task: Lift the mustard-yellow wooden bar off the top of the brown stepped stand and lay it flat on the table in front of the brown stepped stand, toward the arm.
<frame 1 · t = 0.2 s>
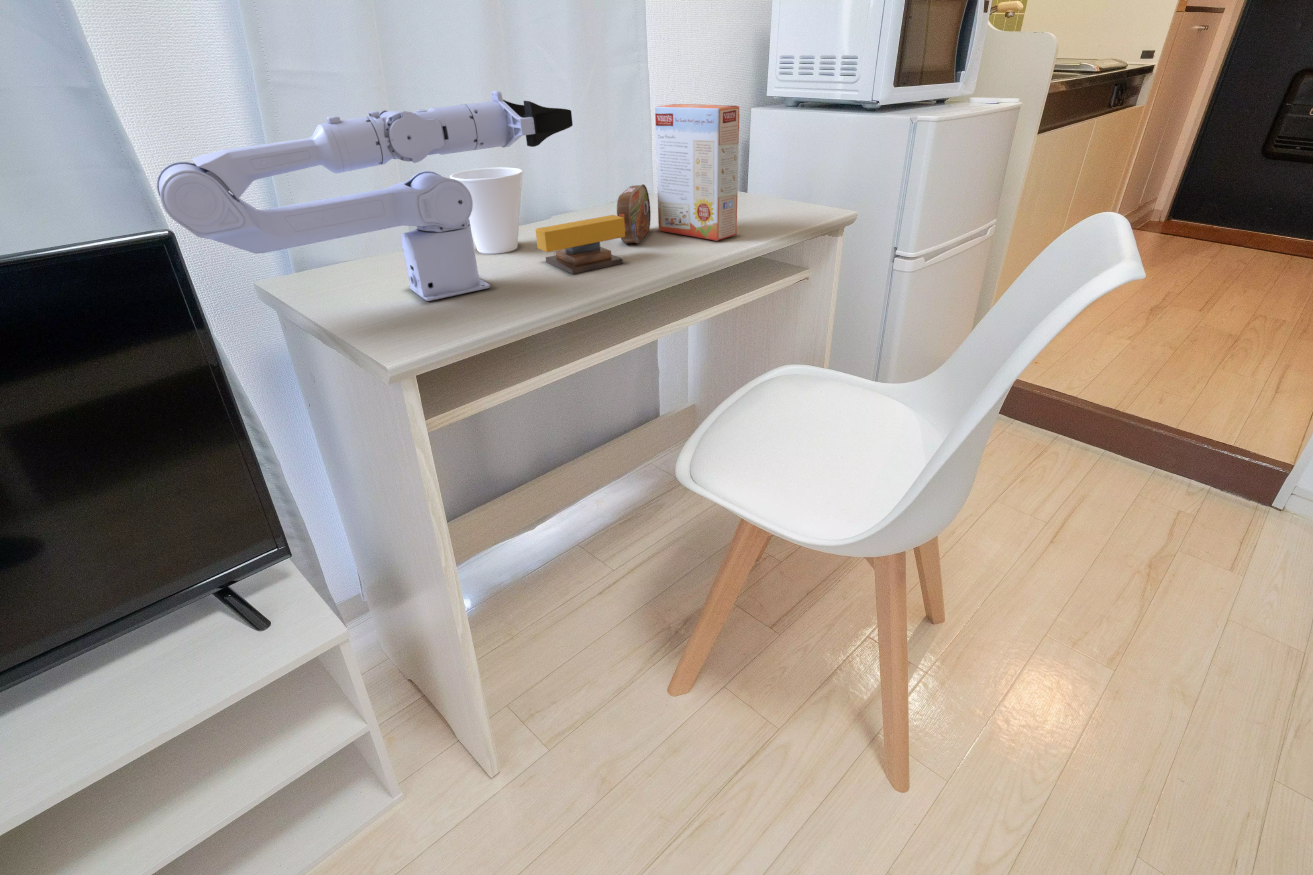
hand: (558, 116, 100), 21 cm above the table, tool horizontal, fingers open, 7 cm apart
tin: (635, 239, 124), on the table
cup: (497, 249, 120), on the table
bar: (582, 242, 109), point 3 cm above the table, touching brown stepped stand
brown stepped stand: (584, 262, 111), on the table
cracker box: (697, 234, 125), on the table
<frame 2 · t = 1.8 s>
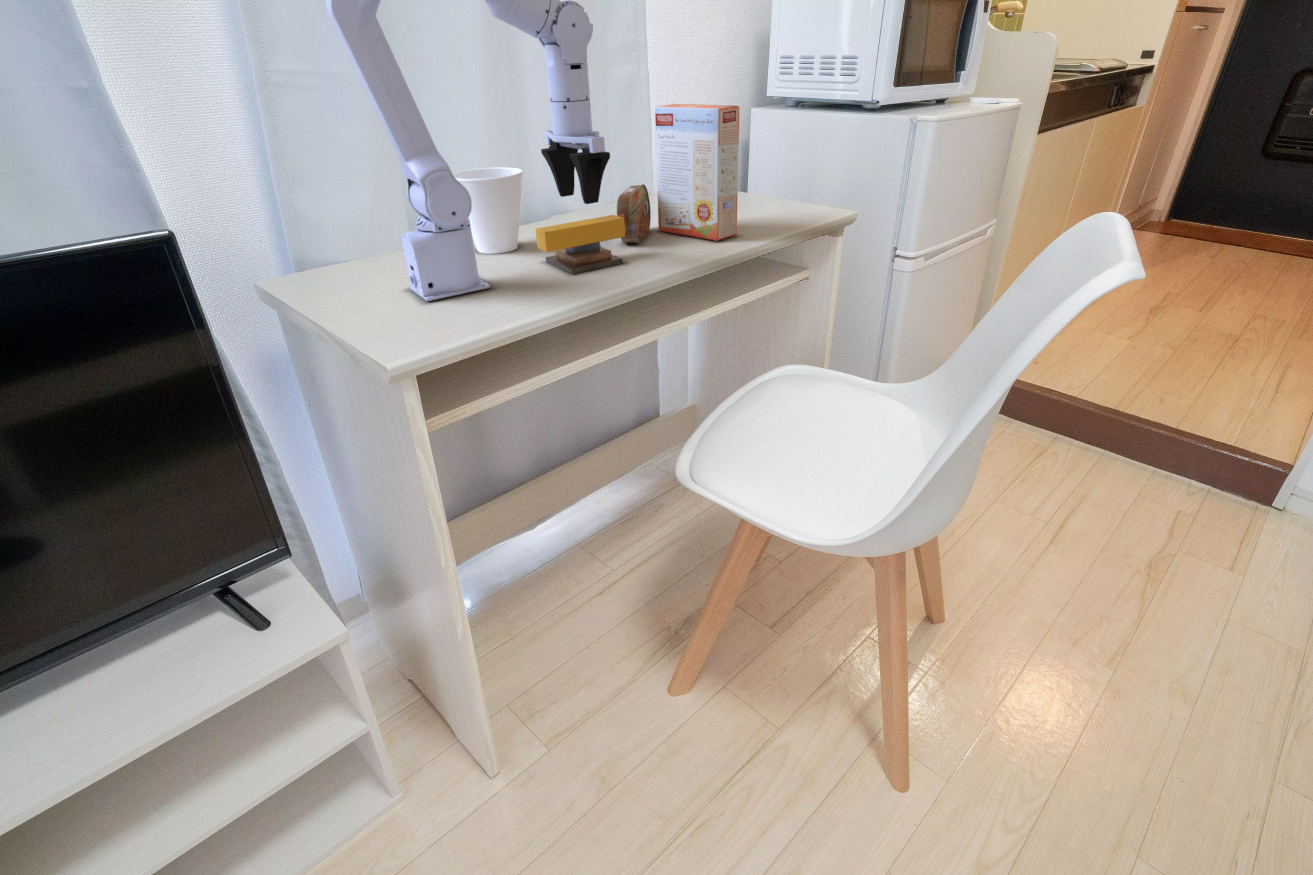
hand: (578, 199, 106), 10 cm above the table, tool pointing down, fingers open, 7 cm apart
nothing on the table moved.
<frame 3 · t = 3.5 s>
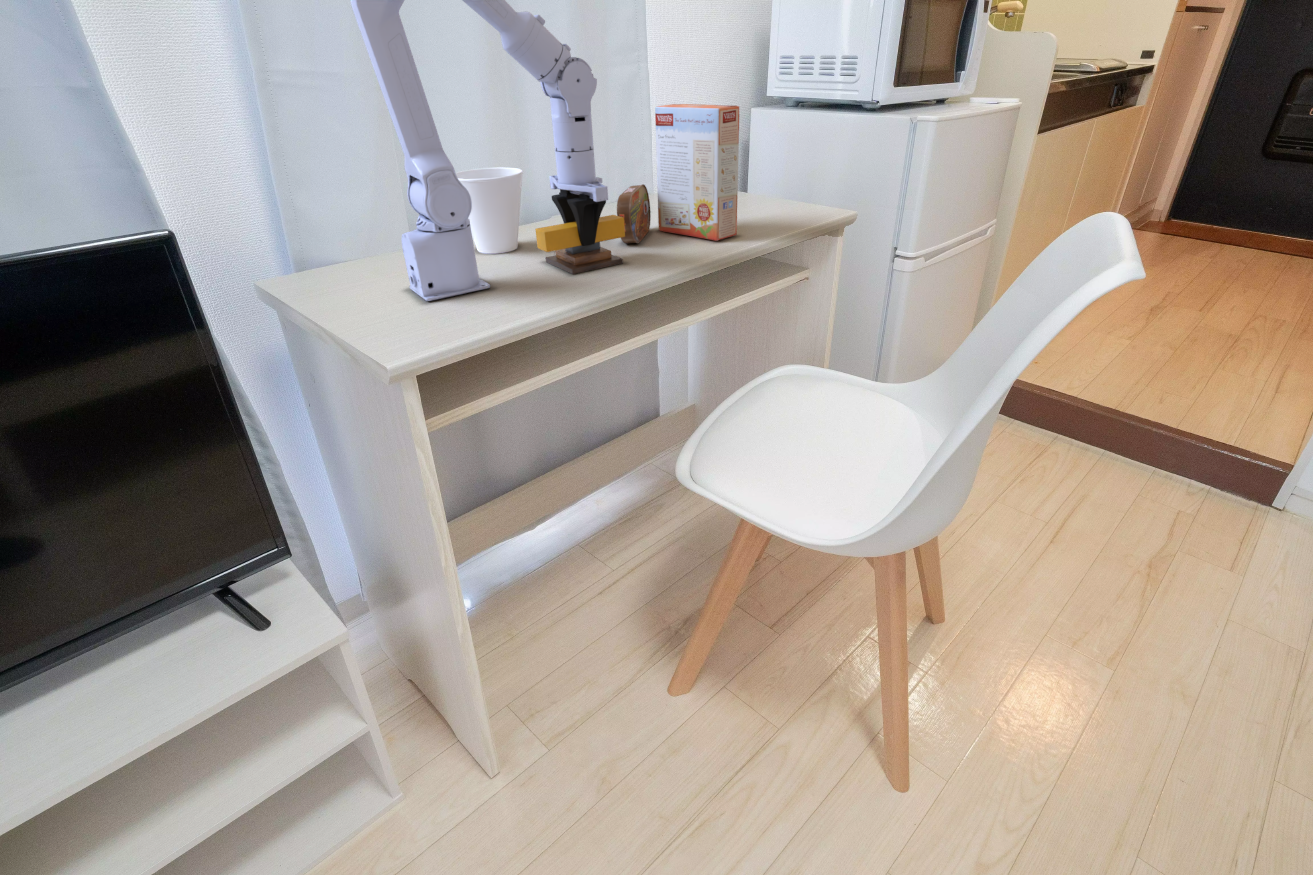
hand: (582, 242, 109), 3 cm above the table, tool pointing down, fingers closed on bar, 3 cm apart
bar: (582, 242, 109), point 3 cm above the table, touching gripper, brown stepped stand
everything else where it was.
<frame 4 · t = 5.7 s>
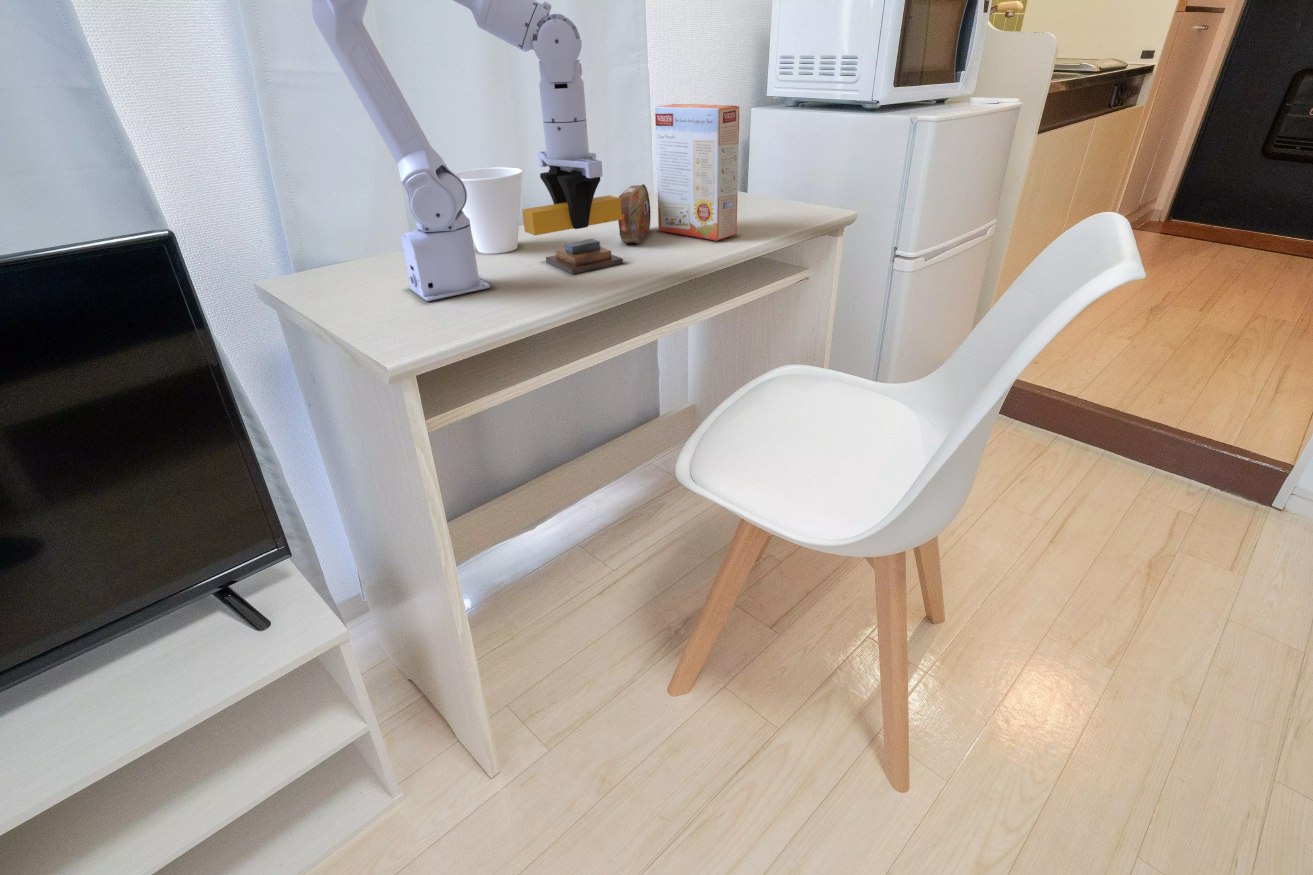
hand: (574, 225, 99), 8 cm above the table, tool pointing down, fingers closed on bar, 3 cm apart
bar: (574, 225, 99), point 8 cm above the table, touching gripper
everything else where it was.
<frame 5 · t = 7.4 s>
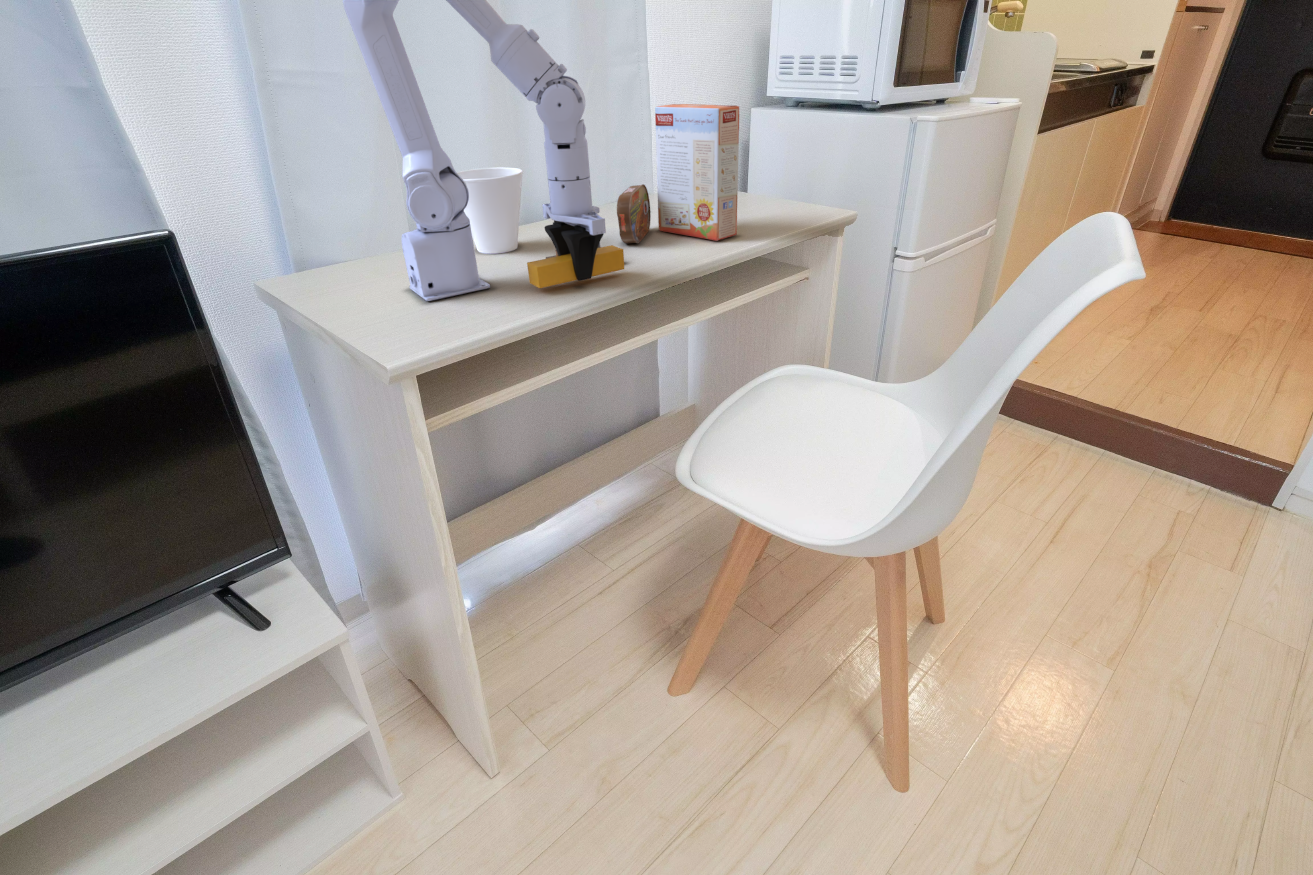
hand: (578, 276, 101), 1 cm above the table, tool pointing down, fingers closed on bar, 3 cm apart
bar: (578, 276, 101), point 1 cm above the table, touching gripper
everything else where it was.
when the fingers open (0 cm above the table, at t = 8.2 s): bar stays where it is, on the table.
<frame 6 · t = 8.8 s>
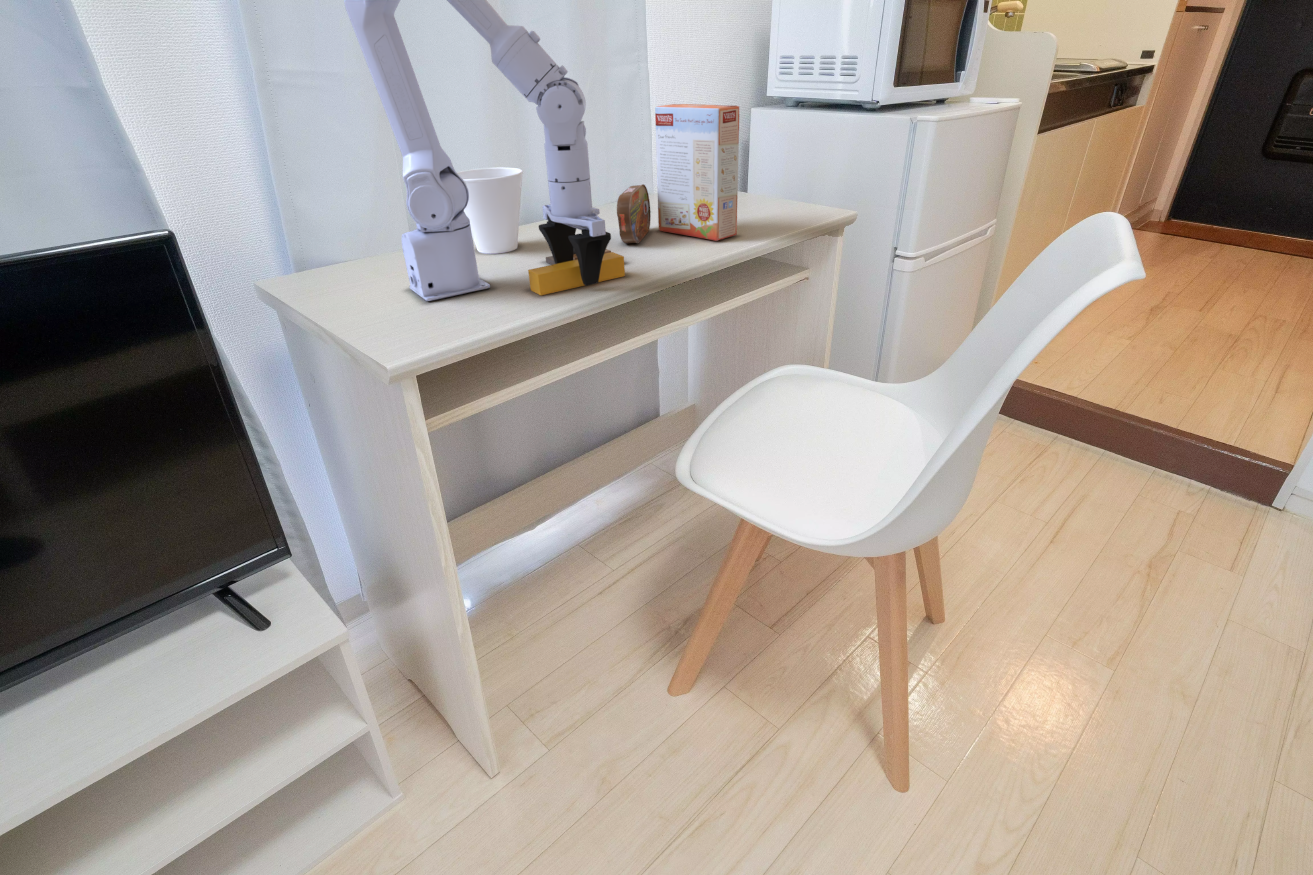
hand: (577, 277, 101), 1 cm above the table, tool pointing down, fingers open, 7 cm apart
bar: (578, 283, 101), on the table
everything else where it was.
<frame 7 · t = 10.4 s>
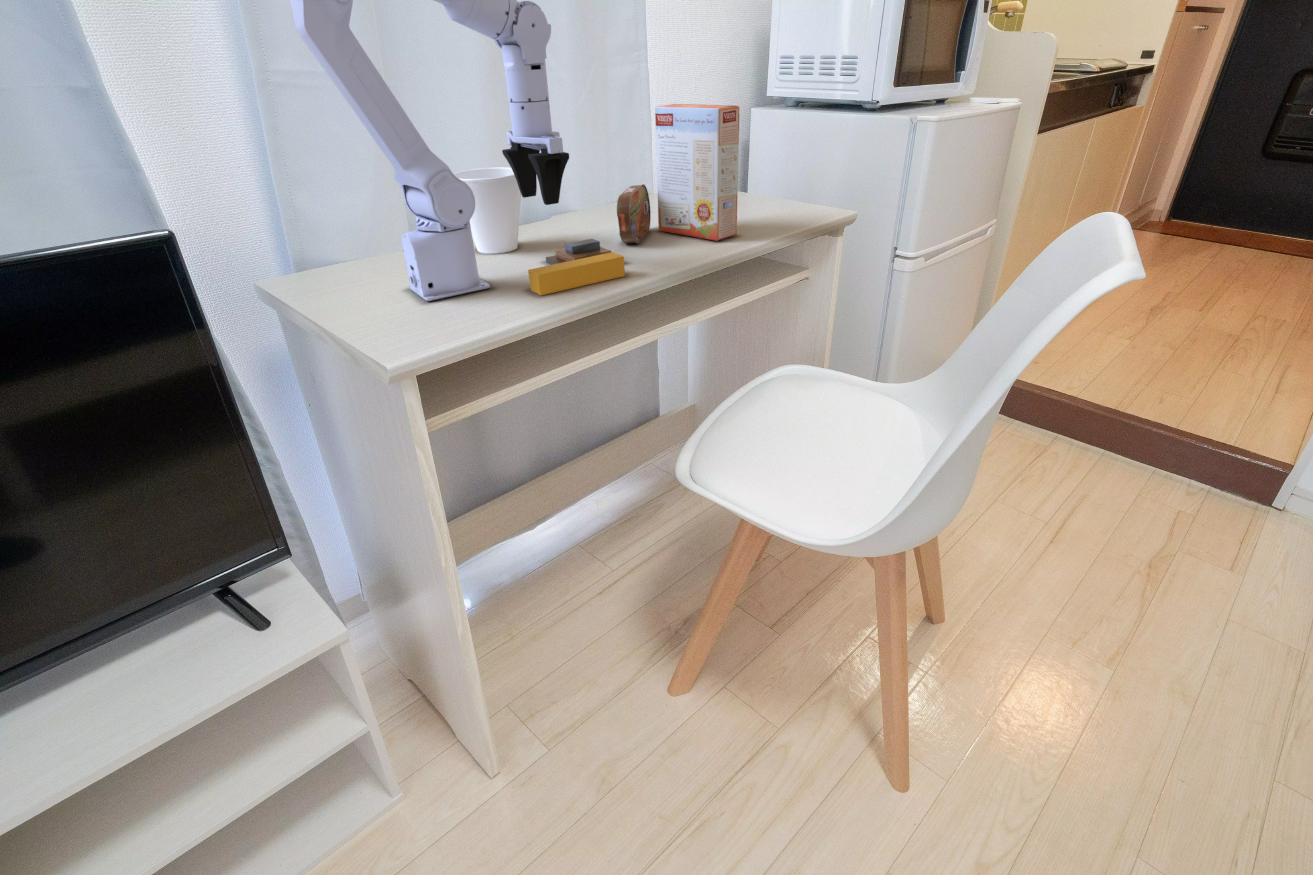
hand: (540, 200, 106), 10 cm above the table, tool pointing down, fingers open, 7 cm apart
nothing on the table moved.
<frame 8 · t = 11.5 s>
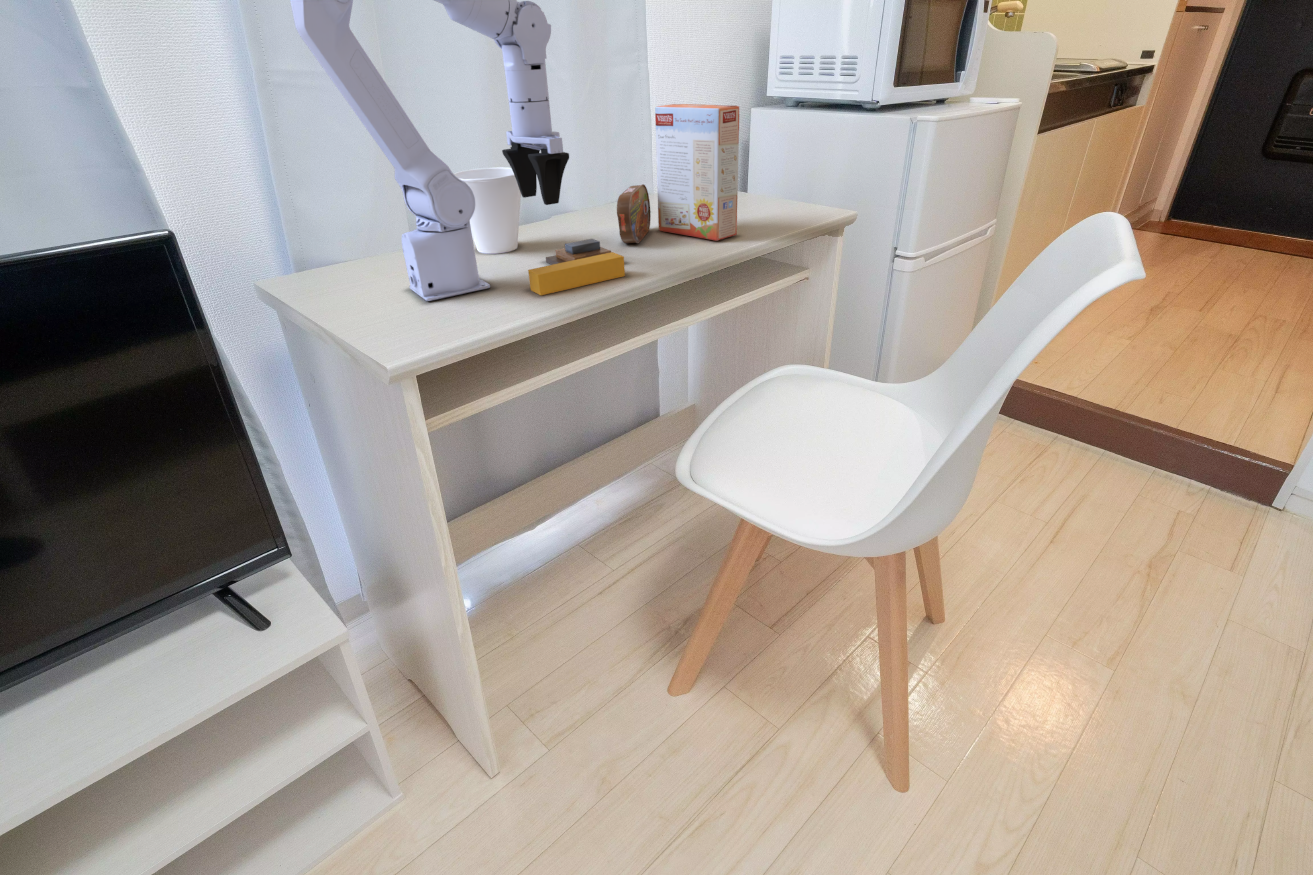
hand: (540, 200, 106), 10 cm above the table, tool pointing down, fingers open, 7 cm apart
nothing on the table moved.
at the end: bar inside the target area (0.1 cm from its centre), on the table; bar tilted 0°; the gripper is holding nothing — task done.
